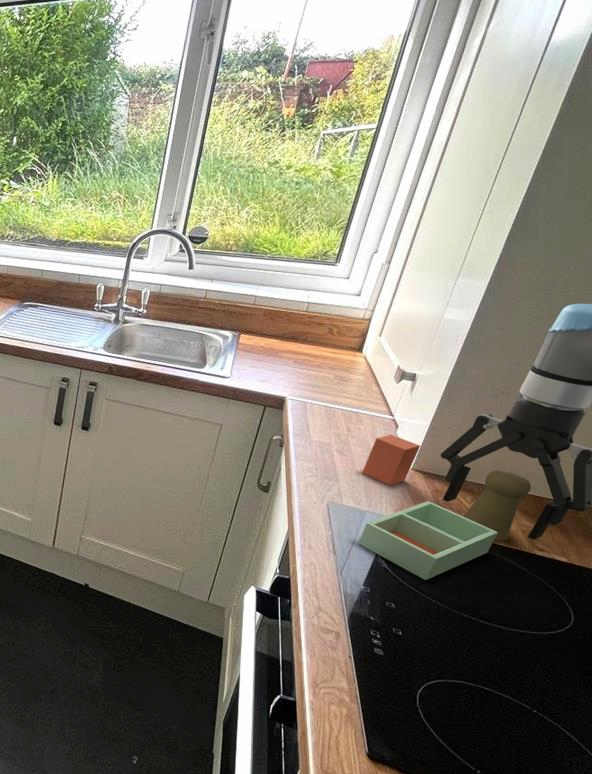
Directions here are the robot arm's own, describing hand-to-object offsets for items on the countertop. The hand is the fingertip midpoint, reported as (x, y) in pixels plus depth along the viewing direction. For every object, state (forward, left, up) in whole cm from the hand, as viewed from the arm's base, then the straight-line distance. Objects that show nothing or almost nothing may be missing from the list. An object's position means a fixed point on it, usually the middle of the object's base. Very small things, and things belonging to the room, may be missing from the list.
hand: (489, 517), depth 100 cm
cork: (0, 0, -3) cm, 3 cm away
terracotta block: (+17, -3, -3) cm, 17 cm away
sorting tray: (+1, +17, -2) cm, 17 cm away
